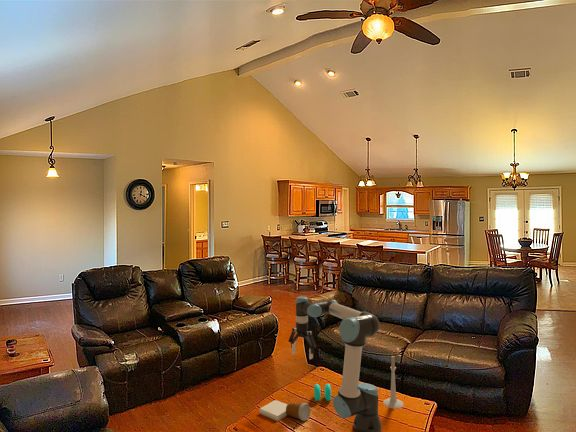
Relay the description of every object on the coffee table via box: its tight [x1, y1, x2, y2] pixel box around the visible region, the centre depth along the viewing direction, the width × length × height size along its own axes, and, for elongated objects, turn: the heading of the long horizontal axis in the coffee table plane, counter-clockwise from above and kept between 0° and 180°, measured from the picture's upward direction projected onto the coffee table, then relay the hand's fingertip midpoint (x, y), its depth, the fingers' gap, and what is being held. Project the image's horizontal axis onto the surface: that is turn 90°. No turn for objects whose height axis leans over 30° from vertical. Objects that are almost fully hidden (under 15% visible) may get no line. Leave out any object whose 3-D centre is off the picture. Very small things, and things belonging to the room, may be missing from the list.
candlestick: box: [382, 355, 404, 410], centre depth 249 cm, size 13×13×30 cm
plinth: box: [259, 399, 288, 422], centre depth 241 cm, size 14×14×3 cm
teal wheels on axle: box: [313, 383, 332, 402], centre depth 256 cm, size 10×10×10 cm
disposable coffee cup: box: [286, 402, 311, 422], centre depth 235 cm, size 10×10×12 cm
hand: (302, 356), depth 253 cm, fingers open, 13 cm apart
